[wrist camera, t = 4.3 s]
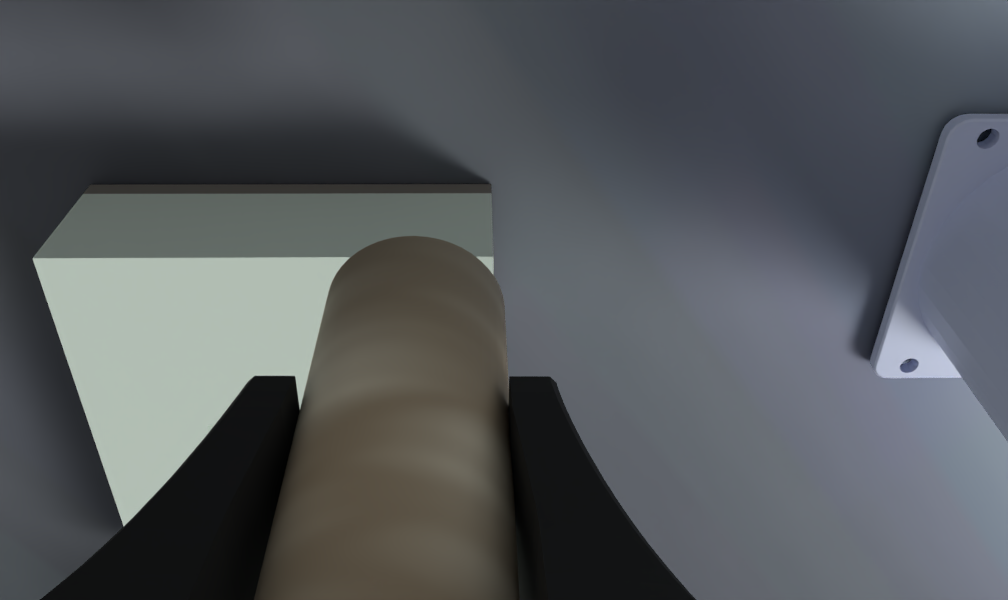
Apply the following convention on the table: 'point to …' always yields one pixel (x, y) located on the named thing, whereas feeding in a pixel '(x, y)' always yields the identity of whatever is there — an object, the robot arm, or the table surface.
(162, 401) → the socket block
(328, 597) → the peg
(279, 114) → the table surface
